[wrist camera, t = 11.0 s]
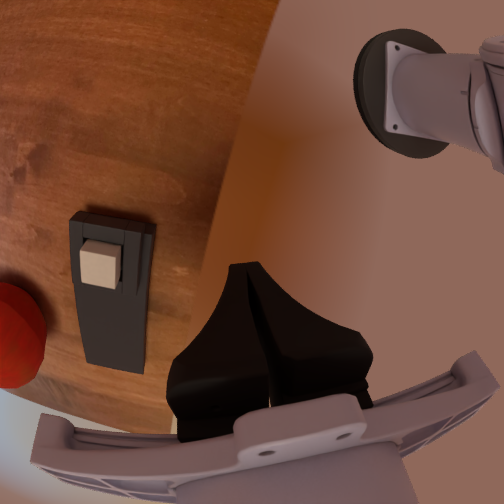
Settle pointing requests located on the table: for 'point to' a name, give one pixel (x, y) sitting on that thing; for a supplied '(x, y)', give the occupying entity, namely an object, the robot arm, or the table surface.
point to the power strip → (114, 292)
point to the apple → (20, 337)
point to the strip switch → (100, 263)
